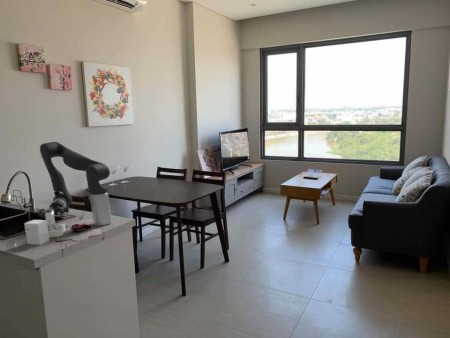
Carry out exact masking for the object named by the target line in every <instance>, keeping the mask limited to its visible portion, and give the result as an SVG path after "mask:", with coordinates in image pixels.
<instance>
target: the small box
mask: <svg viewBox="0 0 450 338" xmlns="http://www.w3.org/2000/svg"><path fill="white" fill-rule="evenodd" d="M23 224H24V231H25V236H26V243H27V245H35V246H36V245H38V246H41V245H43V244H45V243H48V242H50V238H49V235H48V228H47V222H46V219H44V220H43V219H32V220H29V221H27V222H25V223H23Z"/></svg>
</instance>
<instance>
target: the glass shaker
mask: <svg viewBox="0 0 450 338" xmlns="http://www.w3.org/2000/svg"><path fill="white" fill-rule="evenodd" d="M46 209H47V210H46ZM46 209H44V210H45V220H46V222H47V228H48V231H55V230H56V225H57V224H56V220H55V219H56V217H55V215H54V209H48V208H46Z"/></svg>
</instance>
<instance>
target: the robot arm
mask: <svg viewBox="0 0 450 338" xmlns="http://www.w3.org/2000/svg"><path fill="white" fill-rule="evenodd" d="M39 153H40V155H41V158H42V161H43V162H44V163H43V164H44V165H45V167H46V170H47V172H48V174H49V177H50V178H49V179H50V181H51V185H52V189H53V191H54V193H55V192H56V193H57V192H58V193H62V194H60V195H55V196H54V197H53V198H52V202H51V204H50V205H49V206H48V208H46V209H45V208H41V209H40V210H39V211H38V214H39V217H42V218H46V216H45V210H47V209H54V216H59V215H60V216H62V215H64V214H65V213H66V214H68V213H69V212H70V207H69V206H70V205H71V204H72V203H73V197H72V196H71V194H70V192H69V191H68V188H67V185H66V182H65V178H64V175H63V174H62V173H61V171H60V170H58V169H57V167H56V166H55V165H54V163H53V161H52V158H53V159H54V158H56V157H58V158H62V162H63V163H64V165H65V166H67V167H68V168H71V170H76V171H82V172H85V177H86V181H87V183H86V184H87V187H88V191H89V195H90V196H89V197H90V205H91V213H92V222H93V225H94V226H96V225H97V226H101V227H102V226H106V225H110V224H112V215H111V213H112V212H111V206H110V205H111V204H110V199H109V190H108V187H107V186H105V185H101V184H100V181H103V180H104V181H105V180H106V179H108V178H109V177H110V175H111V171H110V168H109V166H108V165H106V164H105V163H103V162H100V161H98V160H97V161H96V160H94V159H91V158H89V157H86V156H84V155H82V154H81V153H78V152H76V151H74V150H71V149H70V148H67V147H66V146H64V145H63V144H61V143H60V142H58V141H51V142H45V143H41V144H40V146H39ZM97 226H96V227H97Z"/></svg>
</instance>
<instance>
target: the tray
mask: <svg viewBox="0 0 450 338" xmlns="http://www.w3.org/2000/svg"><path fill="white" fill-rule="evenodd" d="M55 225H56V230H55V231H48V235H49V239H50V238H57V237H62V236H63V235H64V233H65V232H66V223H61V224H55Z"/></svg>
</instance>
